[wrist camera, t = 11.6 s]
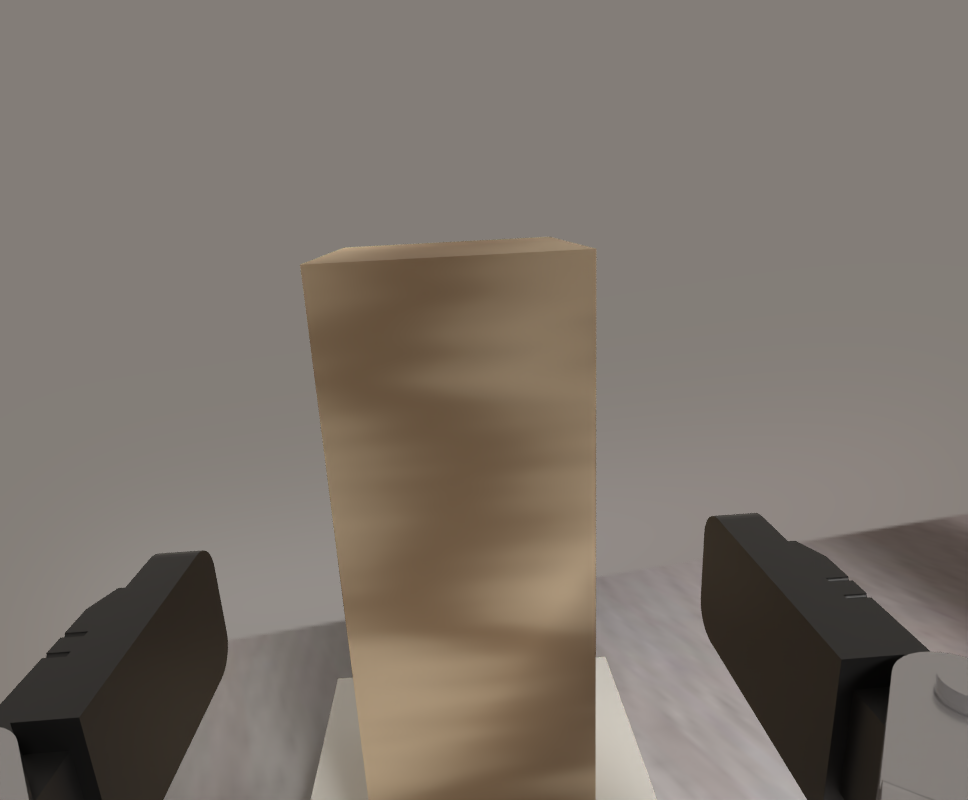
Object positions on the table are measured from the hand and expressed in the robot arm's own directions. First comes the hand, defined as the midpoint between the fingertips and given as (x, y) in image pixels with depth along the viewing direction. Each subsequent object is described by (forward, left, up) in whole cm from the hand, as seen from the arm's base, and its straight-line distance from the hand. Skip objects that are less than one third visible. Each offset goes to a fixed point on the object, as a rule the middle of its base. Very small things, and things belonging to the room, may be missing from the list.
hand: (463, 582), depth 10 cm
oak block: (+2, -4, -9) cm, 10 cm away
